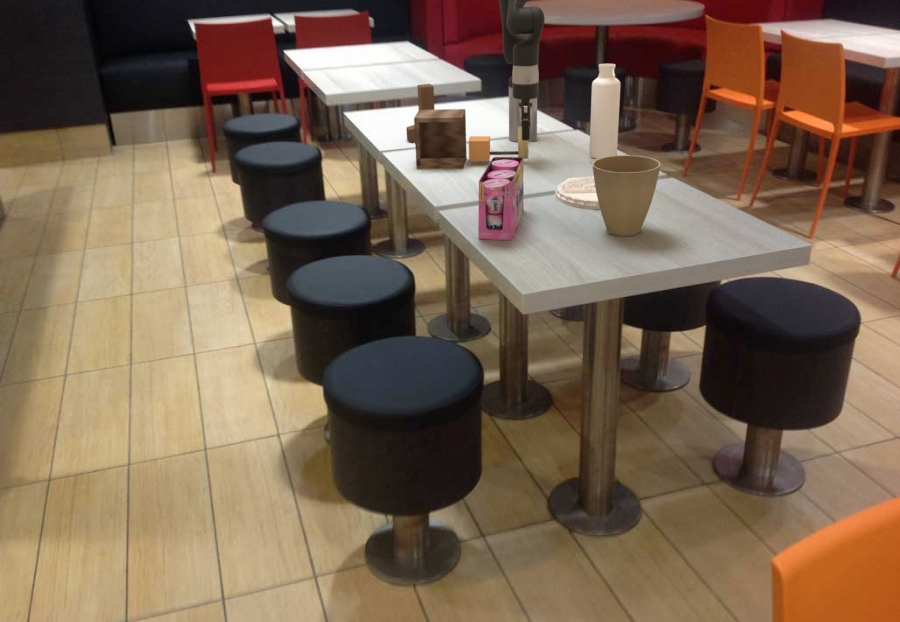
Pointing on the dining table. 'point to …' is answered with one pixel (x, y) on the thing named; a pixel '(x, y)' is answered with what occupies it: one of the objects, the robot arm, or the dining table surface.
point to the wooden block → (422, 106)
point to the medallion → (578, 193)
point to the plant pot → (625, 191)
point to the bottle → (604, 114)
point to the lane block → (481, 151)
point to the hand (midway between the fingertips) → (525, 136)
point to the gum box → (500, 198)
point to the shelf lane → (440, 139)
